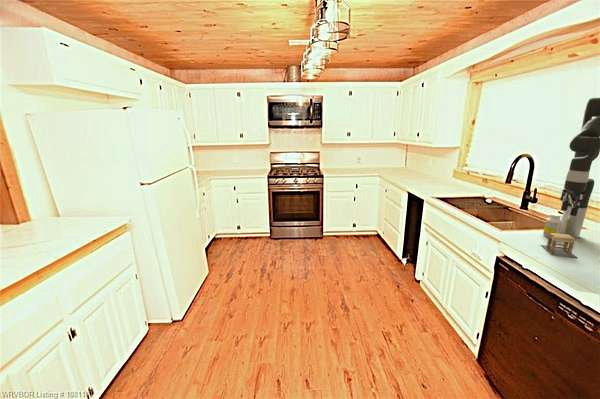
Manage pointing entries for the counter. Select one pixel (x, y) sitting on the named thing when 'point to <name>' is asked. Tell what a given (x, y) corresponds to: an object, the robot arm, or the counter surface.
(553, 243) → the notched wooden block
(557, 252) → the rubber mat
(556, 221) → the supplement bottle
